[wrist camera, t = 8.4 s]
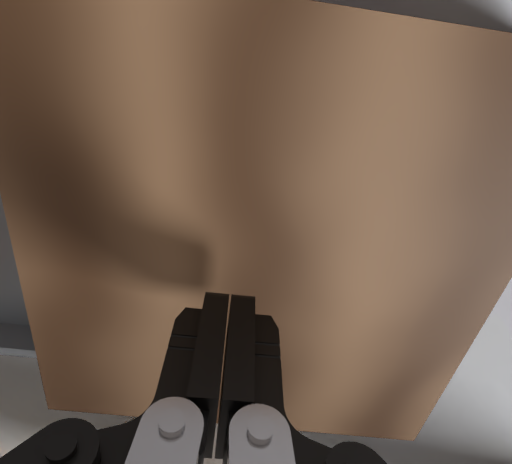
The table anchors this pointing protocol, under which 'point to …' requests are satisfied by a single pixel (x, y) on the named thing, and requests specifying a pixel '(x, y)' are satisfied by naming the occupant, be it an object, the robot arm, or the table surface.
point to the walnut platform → (256, 194)
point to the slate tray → (12, 301)
